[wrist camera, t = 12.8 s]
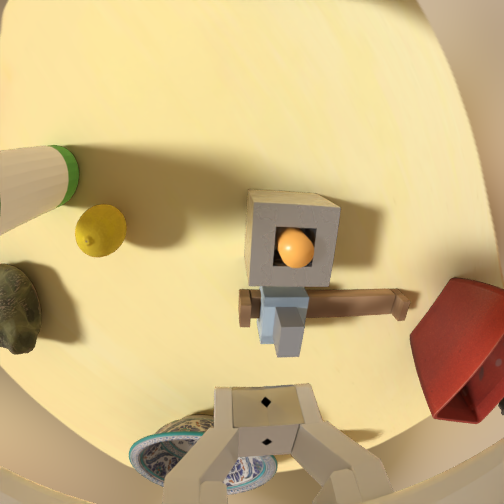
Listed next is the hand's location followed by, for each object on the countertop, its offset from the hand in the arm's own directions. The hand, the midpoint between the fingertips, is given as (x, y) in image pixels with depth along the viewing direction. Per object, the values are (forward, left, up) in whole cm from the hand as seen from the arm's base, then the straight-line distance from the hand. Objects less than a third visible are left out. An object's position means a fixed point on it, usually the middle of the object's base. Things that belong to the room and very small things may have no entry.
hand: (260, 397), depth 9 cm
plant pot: (+16, +37, -27) cm, 49 cm away
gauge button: (+1, +5, -22) cm, 23 cm away
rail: (+11, +12, -27) cm, 31 cm away
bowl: (+40, -5, -27) cm, 49 cm away
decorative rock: (+13, -36, -27) cm, 47 cm away
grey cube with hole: (+1, +5, -27) cm, 27 cm away
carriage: (+11, +6, -27) cm, 30 cm away
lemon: (+1, -15, -27) cm, 31 cm away
